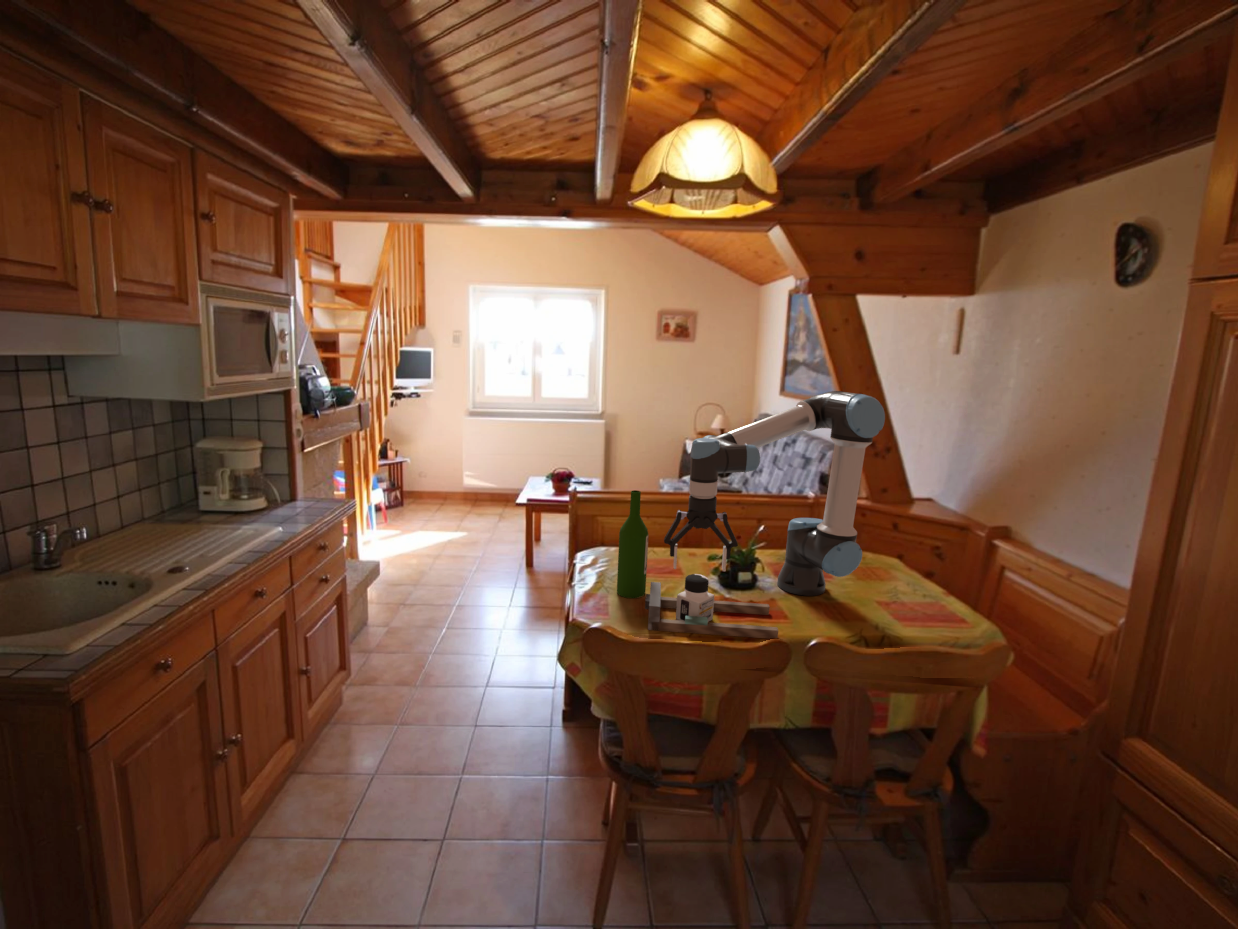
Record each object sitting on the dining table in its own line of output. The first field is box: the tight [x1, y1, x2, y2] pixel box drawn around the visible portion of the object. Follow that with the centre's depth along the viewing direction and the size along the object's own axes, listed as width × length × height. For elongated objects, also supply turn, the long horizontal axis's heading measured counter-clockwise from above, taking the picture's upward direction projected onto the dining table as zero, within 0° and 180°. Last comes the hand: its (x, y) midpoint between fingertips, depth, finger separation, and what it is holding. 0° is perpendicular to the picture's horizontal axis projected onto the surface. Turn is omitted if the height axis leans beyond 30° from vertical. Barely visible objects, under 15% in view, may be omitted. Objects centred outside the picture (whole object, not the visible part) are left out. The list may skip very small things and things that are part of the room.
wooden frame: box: [644, 581, 779, 640], centre depth 179 cm, size 36×17×7 cm, turn 86°
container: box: [675, 573, 715, 622], centre depth 178 cm, size 8×8×13 cm
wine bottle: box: [616, 490, 649, 599], centre depth 193 cm, size 9×9×32 cm
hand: (699, 568), depth 177 cm, fingers open, 13 cm apart
